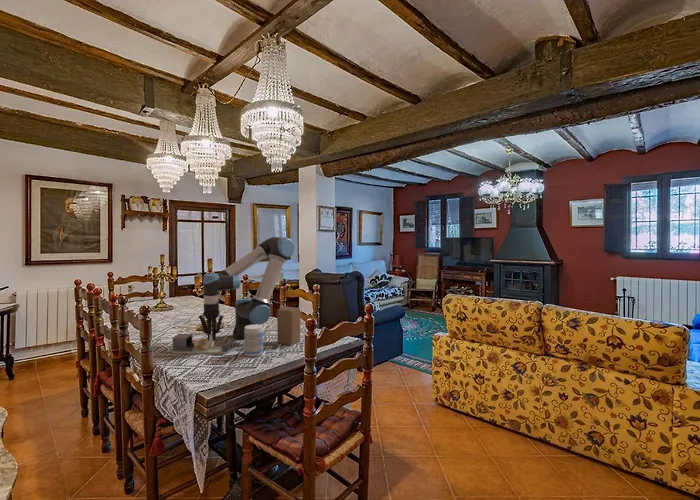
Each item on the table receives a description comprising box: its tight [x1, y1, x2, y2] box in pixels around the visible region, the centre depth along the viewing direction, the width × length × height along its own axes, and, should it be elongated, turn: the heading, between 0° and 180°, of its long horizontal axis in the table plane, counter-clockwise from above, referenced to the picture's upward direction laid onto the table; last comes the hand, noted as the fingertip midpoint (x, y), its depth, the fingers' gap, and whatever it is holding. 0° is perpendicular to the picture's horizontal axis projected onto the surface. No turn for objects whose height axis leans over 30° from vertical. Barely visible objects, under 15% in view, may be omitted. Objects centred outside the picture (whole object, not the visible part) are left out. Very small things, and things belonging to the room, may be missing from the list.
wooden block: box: [276, 306, 301, 346], centre depth 209 cm, size 10×10×20 cm
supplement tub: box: [243, 324, 264, 358], centre depth 189 cm, size 10×10×15 cm
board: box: [171, 345, 228, 355], centre depth 194 cm, size 28×9×1 cm, turn 90°
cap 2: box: [221, 339, 233, 353], centre depth 193 cm, size 3×8×4 cm, turn 0°
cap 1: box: [172, 333, 194, 351], centre depth 193 cm, size 10×8×7 cm
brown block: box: [193, 338, 212, 350], centre depth 193 cm, size 8×4×5 cm, turn 90°
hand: (211, 346), depth 193 cm, fingers closed
